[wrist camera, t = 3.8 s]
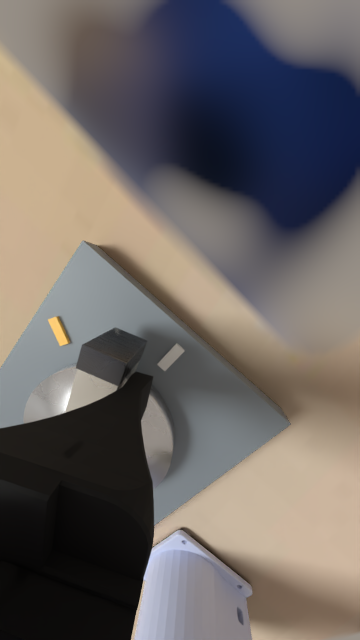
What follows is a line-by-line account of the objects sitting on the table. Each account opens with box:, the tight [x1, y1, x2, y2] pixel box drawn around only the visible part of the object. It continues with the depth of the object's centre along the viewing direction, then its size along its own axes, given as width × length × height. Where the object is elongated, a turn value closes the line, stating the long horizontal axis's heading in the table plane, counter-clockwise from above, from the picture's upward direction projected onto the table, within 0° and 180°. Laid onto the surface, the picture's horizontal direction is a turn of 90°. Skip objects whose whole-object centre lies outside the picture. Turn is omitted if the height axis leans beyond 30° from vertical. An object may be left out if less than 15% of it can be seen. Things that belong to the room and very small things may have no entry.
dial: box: [23, 327, 175, 489], centre depth 11 cm, size 11×14×4 cm
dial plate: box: [0, 241, 291, 525], centre depth 15 cm, size 18×20×2 cm
